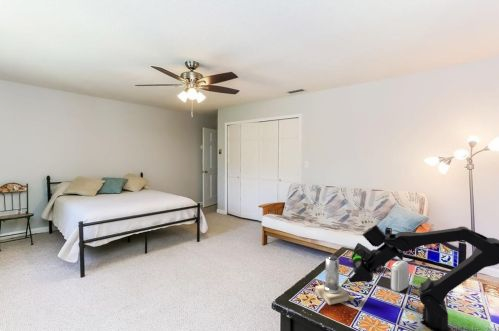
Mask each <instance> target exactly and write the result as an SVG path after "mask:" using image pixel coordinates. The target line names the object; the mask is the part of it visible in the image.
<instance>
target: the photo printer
mask: <svg viewBox="0 0 499 331" xmlns="http://www.w3.org/2000/svg"><path fill="white" fill-rule="evenodd" d="M409 281H410V265H409V263H408V262H407V261H405V260H397V261H395V262H394V263H393V264H392V265H391V267H390V289H391V290H392V291H394V292H401V291H403V290H405V289H407V288H408V287H410V282H409Z"/></svg>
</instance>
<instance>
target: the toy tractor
mask: <svg viewBox="0 0 499 331" xmlns="http://www.w3.org/2000/svg"><path fill="white" fill-rule="evenodd" d="M348 262H350V263H352V267H353V269H354V270H355V269H356V267H357V266H358V265H359V264H360V263H361V257H360V256H359V255H357V254H355V253H354V252H353V251H352V254H351V258H350V259H349V261H348ZM381 270H382V267H380V268H379V269H377V271H376V272H375V273H378V272H379V273H380V272H381Z"/></svg>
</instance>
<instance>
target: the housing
mask: <svg viewBox="0 0 499 331" xmlns="http://www.w3.org/2000/svg"><path fill="white" fill-rule="evenodd" d="M323 284H324V290H325V291H326V292H328V293H331V294H338V293H340V292H341V288H342V287H341V285H340V259H339V257H337V256H336V255H335V254H334V255H333V254H329V255H326V257H325V283H323Z"/></svg>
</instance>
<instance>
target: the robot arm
mask: <svg viewBox="0 0 499 331" xmlns="http://www.w3.org/2000/svg"><path fill="white" fill-rule="evenodd" d="M361 235H362V236H363V238H364V239H365V240H366V241H367V242H368V243H369V244H370V245H372V247H375V248H376V247H377V249H372V250H371V249H369V248H368V247H367V246H365V245H364V244H362V243H359V242H357V244H356V246H355V247H354V248H353V251H352V252H354V253H355V254H357V255H359V256H360V257H361V263H360V264H359V265H358V266H357V267H356V269H354V270H353V272H354V274H353V275H352V276H351V277H350V278H348V280H349V283H359V282H360V283H362V282H363V283H364V282H365V283H368V284H369V283H371V282H372V281H373V279H374V275H375V274H374V273H377V272H376V271H377V269H379V268H380V267H381V268H383V267H386V264H388V263H389V262H390V261H392V260H394V258H396V257H397V258H398V259H399V261H401V260H402V261H404V260H403V259H404V252H408V251H409V252H410V251H413V250H415V249H417V248H420V247H423V246H429V245H439V244H447V243H454V242H456V243H457V242H463V241H464V242H466V243H468V244H469V245H471V246H472V247H474V248H475V249H474V251H473V252H472V254H471V255H470V256H468V257H467V258H465V260H463V261H462V262H460V263H458V265H456V266H455V267H453V268H452V269H450V270H449V271H448V272H446V273H445V274H443V275H442V276H441V277H440V278H438V279H436V280H432V279H431V278H430V277H428V278H427V279H426V280H425V281H423V282H421V283H420V285H419V289H418V290H419V293H418V294H419V301H420V303H422V305H423V308H422V320H421V321H420V323H421V324H422V325H423V326H425V327H427V328H428V329H429V330H431V331H451V330H452V327H450V326H449V313H448V310H447V305H446V301H445V299H446V298H447V296H448V294H449V293H450V292H451V291H453V290H454V289H455V288H457V287H459V286H460V285H461V284H463V283H464V282H466V281H467V280H469V279H470V278H471V277H473V276H474V275H476V274H477V273H479V272H480V271H481V270H483V269H484V268H488V267H489V268H490V267H493V266H497V265H499V239H497V238H494V237H488V236H485V235H484V234H481V233H478V232H477V231H473V230H471V229H470V228H468V227H466V226H458V227H454V228H446V229H440V230H439V229H438V230H432V231H425V232H414V231H413V232H412V231H398V232H397V233H385V232H384V231H383V230H382V229H380V227H379V226H378V225H377V224H375V225H373V226H371V227H369V228H368V229H367V230H365V231H364V232H363V233H362V234H361Z"/></svg>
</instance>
